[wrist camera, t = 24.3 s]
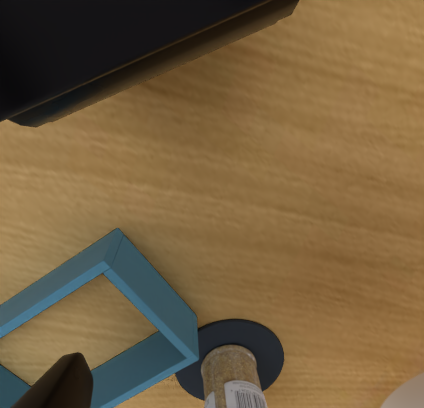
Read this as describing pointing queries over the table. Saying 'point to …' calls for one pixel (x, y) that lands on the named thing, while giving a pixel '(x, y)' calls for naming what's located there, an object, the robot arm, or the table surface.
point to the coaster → (242, 336)
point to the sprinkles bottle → (231, 379)
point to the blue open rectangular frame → (138, 294)
